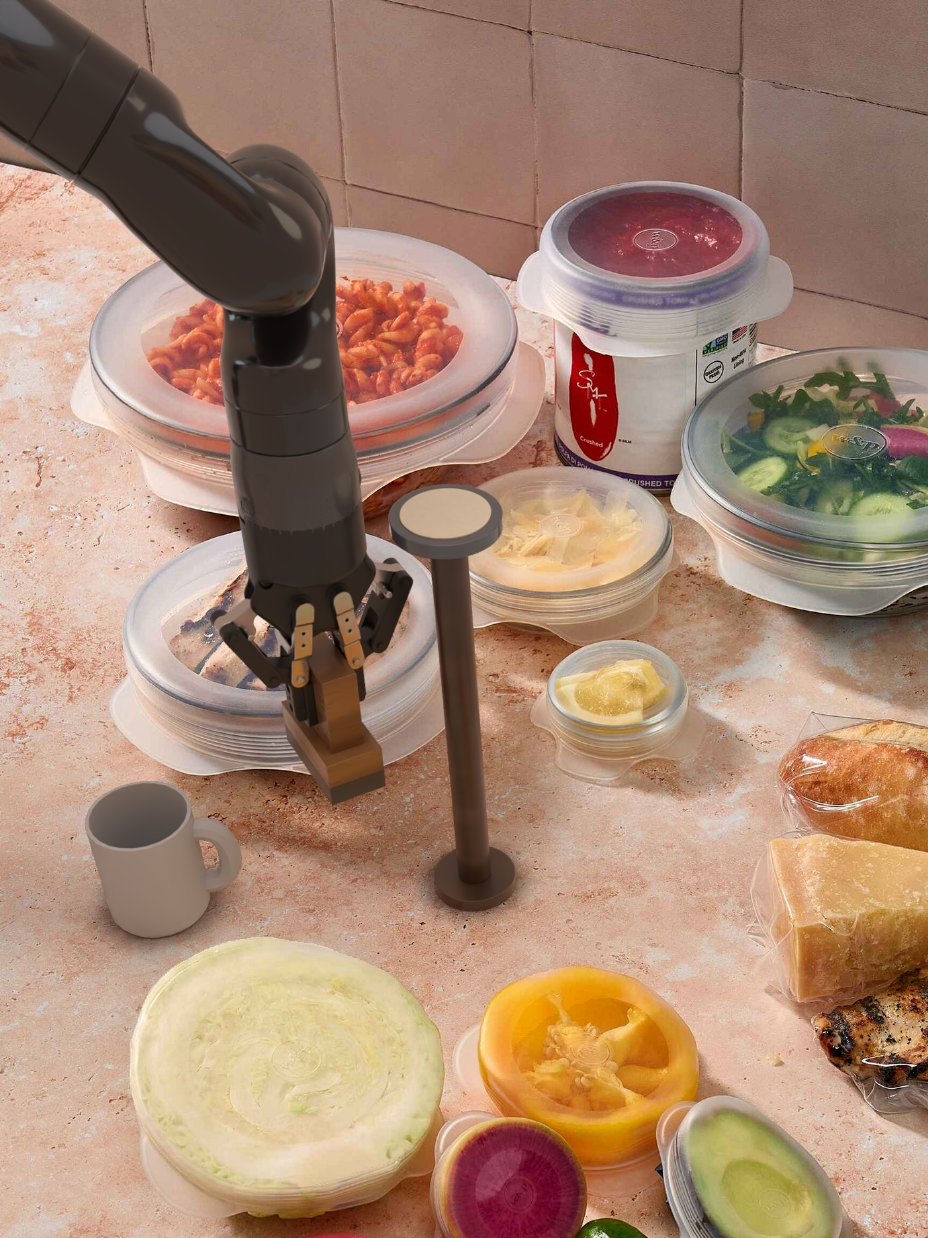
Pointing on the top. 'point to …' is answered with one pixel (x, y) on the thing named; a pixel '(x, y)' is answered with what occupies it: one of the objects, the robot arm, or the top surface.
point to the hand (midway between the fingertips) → (328, 711)
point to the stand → (464, 751)
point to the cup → (157, 857)
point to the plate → (446, 521)
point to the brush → (336, 729)
